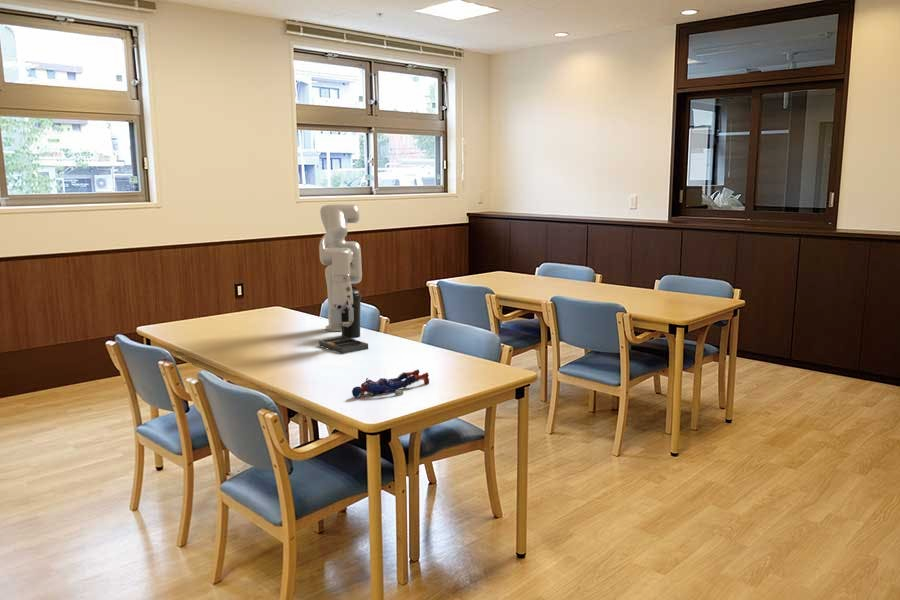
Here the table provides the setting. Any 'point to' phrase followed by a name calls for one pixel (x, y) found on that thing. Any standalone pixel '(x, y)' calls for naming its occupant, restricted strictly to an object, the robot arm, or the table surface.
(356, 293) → the water bottle
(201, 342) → the table surface
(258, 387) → the table surface
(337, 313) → the rectangular block
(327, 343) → the rack
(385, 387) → the figurine
